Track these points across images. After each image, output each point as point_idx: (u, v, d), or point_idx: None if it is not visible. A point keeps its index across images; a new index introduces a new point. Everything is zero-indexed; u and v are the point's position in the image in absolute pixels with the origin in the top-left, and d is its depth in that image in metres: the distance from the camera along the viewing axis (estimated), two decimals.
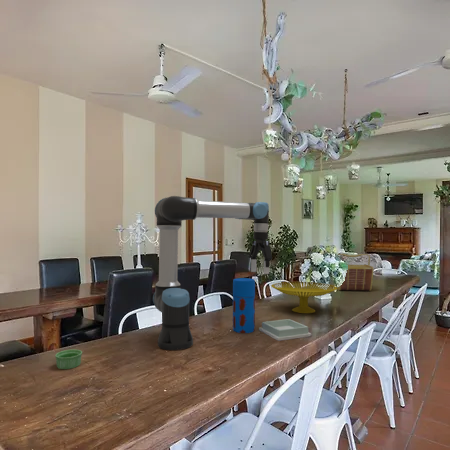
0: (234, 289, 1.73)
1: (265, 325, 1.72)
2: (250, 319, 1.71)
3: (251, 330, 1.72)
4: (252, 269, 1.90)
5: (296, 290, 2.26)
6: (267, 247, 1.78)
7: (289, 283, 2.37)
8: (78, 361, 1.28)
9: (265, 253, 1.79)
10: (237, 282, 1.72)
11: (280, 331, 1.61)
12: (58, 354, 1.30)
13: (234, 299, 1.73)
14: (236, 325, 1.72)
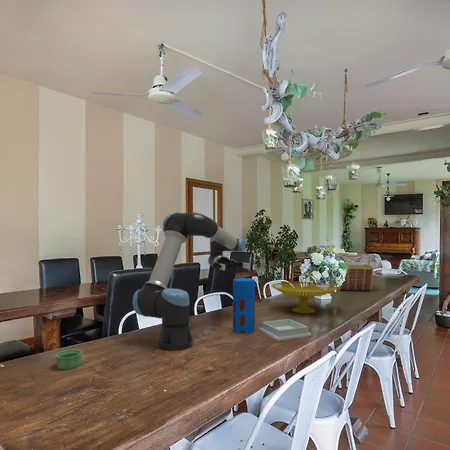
0: (234, 289, 1.73)
1: (265, 325, 1.72)
2: (250, 319, 1.71)
3: (251, 330, 1.72)
4: None
5: (296, 290, 2.26)
6: None
7: (289, 283, 2.37)
8: (78, 361, 1.28)
9: None
10: (237, 282, 1.72)
11: (280, 331, 1.61)
12: (58, 354, 1.30)
13: (234, 299, 1.73)
14: (236, 325, 1.72)
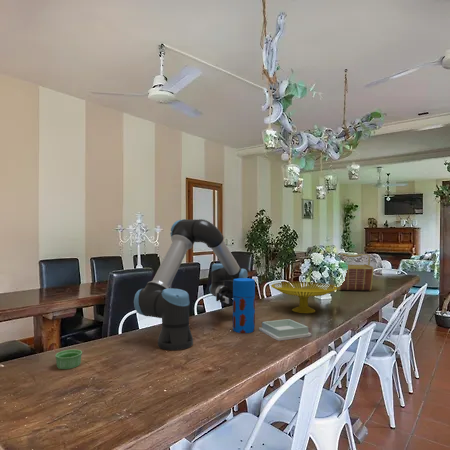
0: (234, 289, 1.73)
1: (265, 325, 1.72)
2: (250, 319, 1.71)
3: (251, 330, 1.72)
4: None
5: (296, 290, 2.26)
6: None
7: (289, 283, 2.37)
8: (78, 361, 1.28)
9: None
10: (237, 282, 1.72)
11: (280, 331, 1.61)
12: (58, 354, 1.30)
13: (234, 299, 1.73)
14: (236, 325, 1.72)
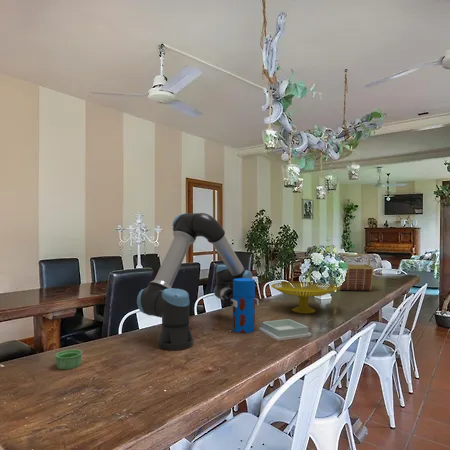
0: (234, 289, 1.73)
1: (265, 325, 1.72)
2: (250, 319, 1.71)
3: (251, 330, 1.72)
4: None
5: (296, 290, 2.26)
6: None
7: (289, 283, 2.37)
8: (78, 361, 1.28)
9: None
10: (237, 282, 1.72)
11: (280, 331, 1.61)
12: (58, 354, 1.30)
13: (234, 299, 1.73)
14: (236, 325, 1.72)
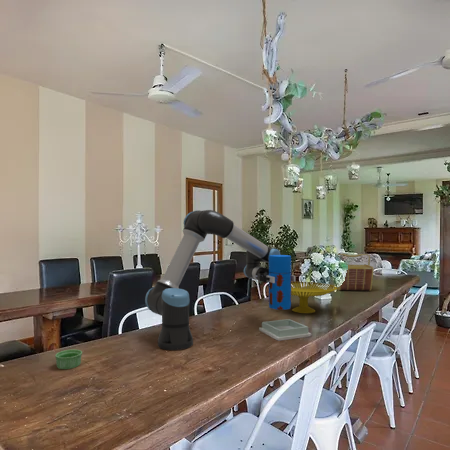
0: (271, 265, 1.70)
1: (265, 325, 1.72)
2: (287, 295, 1.68)
3: (288, 307, 1.69)
4: None
5: (296, 290, 2.26)
6: None
7: None
8: (78, 361, 1.28)
9: None
10: (274, 258, 1.68)
11: (280, 331, 1.61)
12: (58, 354, 1.30)
13: (271, 275, 1.70)
14: (273, 302, 1.68)
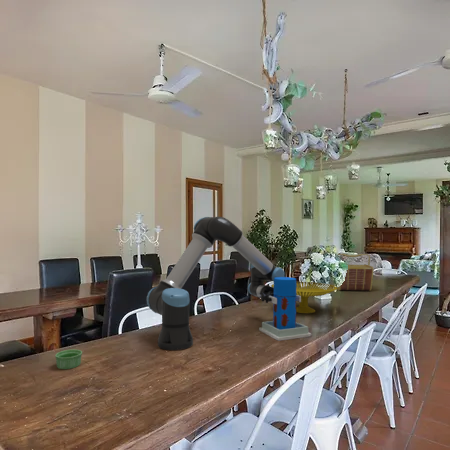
0: (276, 288, 1.69)
1: (265, 325, 1.72)
2: (292, 319, 1.66)
3: None
4: None
5: (296, 290, 2.26)
6: None
7: None
8: (78, 361, 1.28)
9: None
10: (279, 281, 1.67)
11: (280, 331, 1.61)
12: (58, 354, 1.30)
13: None
14: (277, 325, 1.67)
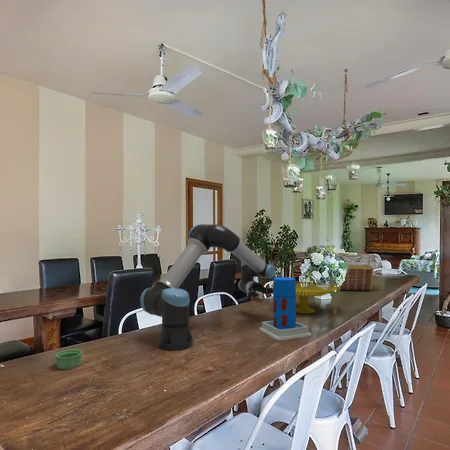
0: (275, 289, 1.68)
1: (265, 325, 1.72)
2: (292, 319, 1.66)
3: None
4: None
5: (296, 290, 2.26)
6: None
7: None
8: (78, 361, 1.28)
9: None
10: (278, 281, 1.67)
11: (280, 331, 1.61)
12: (58, 354, 1.30)
13: (275, 299, 1.69)
14: (277, 325, 1.67)
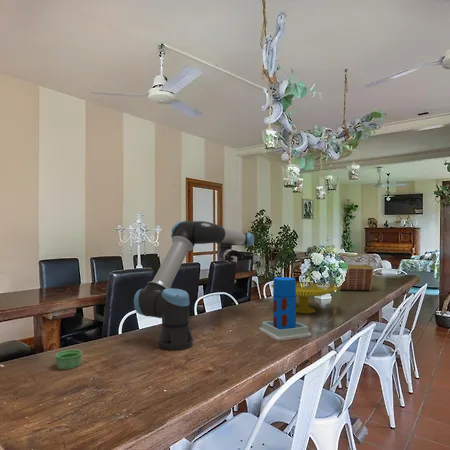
0: (275, 289, 1.68)
1: (265, 325, 1.72)
2: (292, 319, 1.66)
3: None
4: None
5: (296, 290, 2.26)
6: None
7: None
8: (78, 361, 1.28)
9: None
10: (278, 281, 1.67)
11: (280, 331, 1.61)
12: (58, 354, 1.30)
13: (275, 299, 1.69)
14: (277, 325, 1.67)
